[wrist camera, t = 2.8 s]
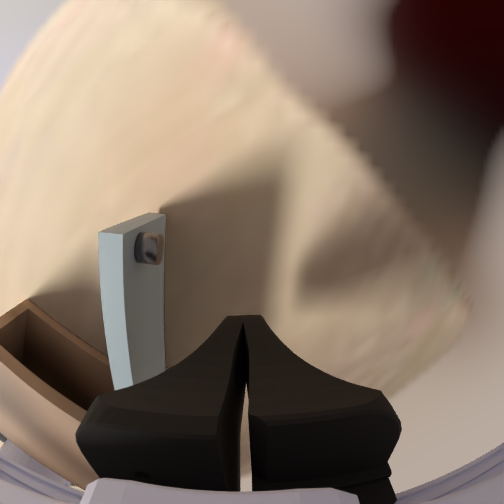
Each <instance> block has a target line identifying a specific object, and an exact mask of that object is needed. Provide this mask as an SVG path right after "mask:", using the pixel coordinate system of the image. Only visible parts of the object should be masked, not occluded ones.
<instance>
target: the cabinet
mask: <svg viewBox="0 0 504 504" xmlns="http://www.w3.org/2000/svg"><path fill="white" fill-rule="evenodd" d="M111 391H115V389H114V384H113V379H112V374H111V369H110V363H109V358H108V357H107V356H105V355H104V354H102V353H100V352H99V351H97V350H96V349H94V348H93V347H91V346H90V345H88V344H87V343H85V342H84V341H82V340H81V339H79V338H78V337H77V336H75V335H74V334H72V333H71V332H69V331H68V330H67V329H65V328H64V327H63V326H61V325H60V324H59V323H57V322H56V321H55V320H53V319H52V318H51V317H49V316H48V315H47V314H46V313H44V312H43V311H42V310H41V309H39V308H38V307H37V306H36V305H34V304H33V303H32V302H31V301H30V300H28V299H26V300H25V301H23V302H22V303H20V304H19V305H17V306H16V307H14V308H13V309H11V310H10V311H8V312H7V313H5V314H4V315H3V316H1V317H0V433H1V434H3V435H4V436H5V437H6V438H7V439H8V440H10V441H11V442H12V443H13V444H15V445H16V446H17V447H19V448H20V449H21V450H22V451H24V452H25V453H26V454H28V455H29V456H31V457H32V458H33V459H35V460H36V461H38V462H39V463H40V464H42V465H43V466H45V467H46V468H48V469H49V470H51V471H53V472H54V473H56V474H57V475H59V476H61V477H62V478H64V479H66V480H67V481H69V482H71V483H72V484H74V485H76V486H78V487H80V488H81V489H83V490H86V487H87V485H88V484H90V483H92V482H94V481H95V480H97V479H100V478H99V477H98V475H97V474H96V473H95V471H94V470H93V468H92V467H91V466H90V464H89V463H88V461H87V460H86V459H85V457H84V456H83V454H82V453H81V451H80V449H79V447H78V445H77V443H76V437H75V433H76V431H77V429H78V427H79V425H80V423H81V422H82V420H83V418H84V416H85V415H86V413H87V411H88V409H89V408H90V406H91V405H92V403H93V401H94V400H95V398H96V397H97V396H98V394H103V393H107V392H111Z"/></svg>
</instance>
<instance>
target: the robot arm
mask: <svg viewBox="0 0 504 504" xmlns="http://www.w3.org/2000/svg"><path fill="white" fill-rule="evenodd" d="M246 383H247V391H248V399H249V408H248V419H249V436H250V452H251V467H252V492H240V431H241V421H242V413H243V405H244V396H245V388H246ZM401 430H402V429H401V422H400V420H399V418H398V416H397V415H396V412H395V411H394V409H393V407H392V406H391V404H390V403H389V401H388V400H387V399H386V397H385V396H384V395H383V393H382V392H381V391H380V390H376V389H372V388H368V387H364V386H360V385H356V384H352V383H349V382H347V381H344V380H341V379H339V378H336V377H334V376H331V375H329V374H327V373H325V372H323V371H321V370H319V369H317V368H315V367H314V366H312V365H310V364H309V363H307V362H305V361H304V360H303V359H301V358H300V357H298V356H297V355H296V354H294V353H293V352H292V351H291V350H290V349H289V348H288V347H287V346H286V345H285V344H284V343H283V342H282V341H281V340H280V339H279V338H278V337H277V336H276V335H275V334H274V332H273V331H272V330H271V329H270V327H269V326H268V325H267V323H266V322H265V320H264V318H263V317H262V316H261V315H241V316H227V317H226V318H225V319H224V320H223V321H222V323H221V324H220V325H219V326H218V328H217V329H216V330H215V331H214V332H213V333H212V335H211V336H210V337H209V338H208V339H207V340H206V341H205V342H204V343H203V344H202V345H201V346H200V347H199V348H198V349H197V350H195V351H194V352H193V353H192V354H191V355H189V356H188V357H187V358H185V359H184V360H182V361H181V362H180V363H178V364H176V365H175V366H173V367H171V368H169V369H168V370H166V371H164V372H162V373H160V374H159V375H157V376H155V377H152V378H150V379H148V380H145V381H143V382H140V383H138V384H135V385H132V386H129V387H126V388H122V389H119V390H115V391H111V392H107V393H103V394H98V396H97V397H96V398H95V400H94V401H93V403H92V405H91V406H90V408H89V409H88V411H87V413H86V415H85V416H84V418H83V420H82V422H81V423H80V425H79V427H78V429H77V431H76V433H75V437H76V443H77V445H78V447H79V449H80V451H81V453H82V454H83V456H84V457H85V459H86V460H87V461H88V463H89V464H90V466H91V467H92V468H93V470H94V471H95V473H96V474H97V475H98V477H99V478H100V479H97V480H95V481H94V482H92V483H90V484H88V485H87V487H86V490H85V492H82V491H79V490H77V489H74V488H71V487H70V486H71V482H69V481H67V480H66V479H64V478H62V477H61V476H59V475H57V474H56V473H54V472H53V471H51V470H49V469H48V468H46V467H45V466H43V465H42V464H40V463H39V462H38V461H36V460H35V459H33V458H32V457H31V456H29V455H28V454H26V453H25V452H24V451H22V450H21V449H20V448H19V447H17V446H16V445H15V444H13V443H12V442H11V441H10V440H8V439H7V440H6V441H5V443H4V444H3V446H2V447H1V448H0V504H504V443H502V444H501V445H499V446H498V447H496V448H495V449H493V450H491V451H490V452H488V453H486V454H485V455H483V456H481V457H479V458H477V459H476V460H474V461H472V462H470V463H468V464H466V465H464V466H462V467H460V468H458V469H456V470H454V471H452V472H450V473H448V474H446V475H444V476H441V477H439V478H437V479H435V480H432V481H430V482H427V483H425V484H422V485H420V486H417V487H415V488H412V489H409V490H407V491H404V492H401V493H397V494H395V493H394V491H393V488H392V485H391V483H390V480H389V478H388V477H390V476H391V469H390V467H389V464H388V462H387V461H388V459H389V458H390V456H391V454H392V452H393V450H394V448H395V446H396V444H397V442H398V440H399V436H400V433H401Z"/></svg>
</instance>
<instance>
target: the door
mask: <svg viewBox="0 0 504 504" xmlns="http://www.w3.org/2000/svg"><path fill="white" fill-rule="evenodd" d="M165 228H166V214H159V213H147V214H144V215H141V216H138V217H136V218H133V219H130V220H128V221H125V222H123V223H120V224H117V225H115V226H112V227H110V228H107V229H105V230H102V231H100V232H98V242H99V273H100V289H101V301H102V312H103V321H104V329H105V337H106V344H107V351H108V357H109V363H110V369H111V374H112V379H113V384H114V389H115V390H119V389H122V388H126V387H129V386H132V385H135V384H138V383H140V382H143V381H145V380H148V379H150V378H152V377H155V376H157V375H159V374H160V373H162V372H164V371H166V367H165V345H164V250H165Z"/></svg>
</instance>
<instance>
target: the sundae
mask: <svg viewBox="0 0 504 504" xmlns="http://www.w3.org/2000/svg"><path fill="white" fill-rule="evenodd" d="M0 440H1V441H2V442H5V441H6V440H7V438H6V437H5V436H4V435H3V434H1V433H0Z"/></svg>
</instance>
